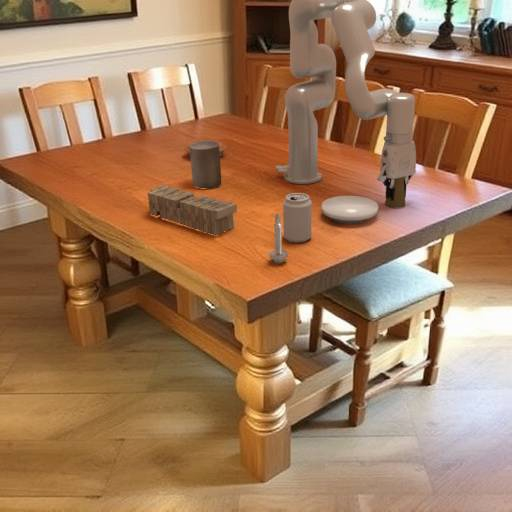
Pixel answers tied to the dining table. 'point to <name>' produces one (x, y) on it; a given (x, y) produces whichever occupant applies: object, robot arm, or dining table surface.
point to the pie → (221, 146)
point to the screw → (278, 243)
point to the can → (297, 217)
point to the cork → (397, 194)
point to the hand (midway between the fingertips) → (395, 197)
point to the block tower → (192, 209)
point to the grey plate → (349, 209)
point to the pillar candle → (205, 164)
